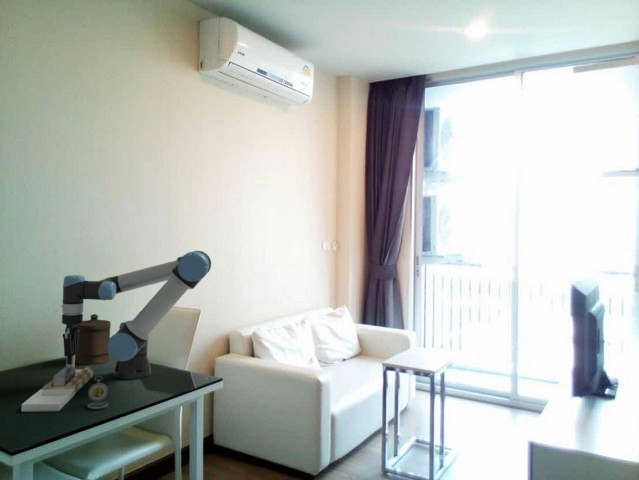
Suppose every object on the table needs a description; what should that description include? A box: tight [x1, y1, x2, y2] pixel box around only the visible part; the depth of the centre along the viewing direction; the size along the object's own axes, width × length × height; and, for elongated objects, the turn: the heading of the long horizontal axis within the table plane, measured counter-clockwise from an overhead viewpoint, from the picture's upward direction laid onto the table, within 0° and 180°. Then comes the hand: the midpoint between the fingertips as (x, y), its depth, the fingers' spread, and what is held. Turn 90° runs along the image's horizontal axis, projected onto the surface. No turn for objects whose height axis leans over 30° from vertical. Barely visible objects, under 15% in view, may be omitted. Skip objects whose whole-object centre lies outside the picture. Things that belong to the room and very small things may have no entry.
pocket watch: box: [87, 375, 109, 410], centre depth 176 cm, size 8×8×10 cm
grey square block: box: [57, 369, 72, 383], centre depth 191 cm, size 4×4×4 cm
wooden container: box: [75, 313, 112, 365], centre depth 233 cm, size 15×15×22 cm
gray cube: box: [61, 366, 77, 379], centre depth 195 cm, size 4×4×4 cm
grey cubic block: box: [53, 372, 69, 387], centre depth 187 cm, size 4×4×4 cm
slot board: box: [42, 366, 94, 394], centre depth 196 cm, size 24×11×4 cm, turn 9°
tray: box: [20, 388, 76, 413], centre depth 176 cm, size 16×12×2 cm
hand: (70, 371), depth 198 cm, fingers closed
